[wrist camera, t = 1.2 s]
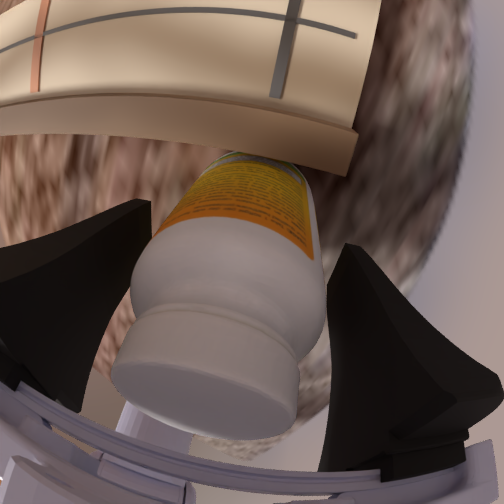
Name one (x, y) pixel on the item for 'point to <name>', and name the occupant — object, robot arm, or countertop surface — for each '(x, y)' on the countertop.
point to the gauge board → (192, 73)
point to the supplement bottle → (227, 303)
